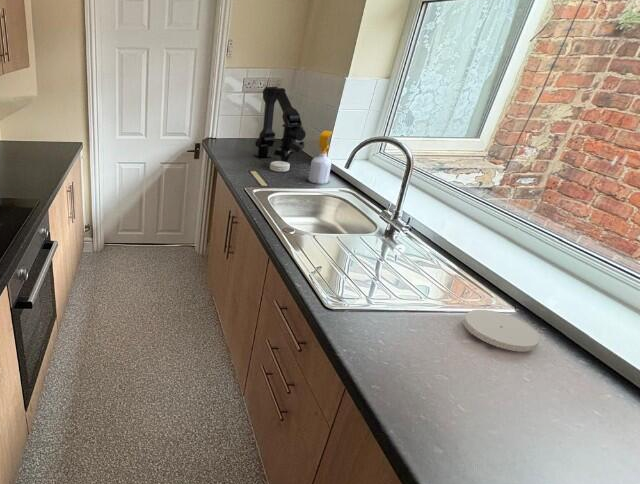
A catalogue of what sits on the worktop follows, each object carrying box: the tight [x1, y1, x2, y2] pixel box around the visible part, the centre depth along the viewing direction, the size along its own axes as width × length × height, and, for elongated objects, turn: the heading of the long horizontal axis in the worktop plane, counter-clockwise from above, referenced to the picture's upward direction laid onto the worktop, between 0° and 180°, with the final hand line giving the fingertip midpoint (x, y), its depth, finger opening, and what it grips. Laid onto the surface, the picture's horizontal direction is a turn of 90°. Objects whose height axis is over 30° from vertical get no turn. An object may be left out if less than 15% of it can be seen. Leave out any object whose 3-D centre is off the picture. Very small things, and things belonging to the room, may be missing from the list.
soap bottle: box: [307, 130, 334, 185], centre depth 201 cm, size 9×9×25 cm
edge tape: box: [249, 170, 269, 187], centre depth 212 cm, size 24×3×1 cm, turn 178°
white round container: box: [269, 160, 291, 173], centre depth 224 cm, size 10×10×4 cm
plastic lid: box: [462, 309, 541, 353], centre depth 100 cm, size 14×14×2 cm
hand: (284, 164), depth 229 cm, fingers closed
